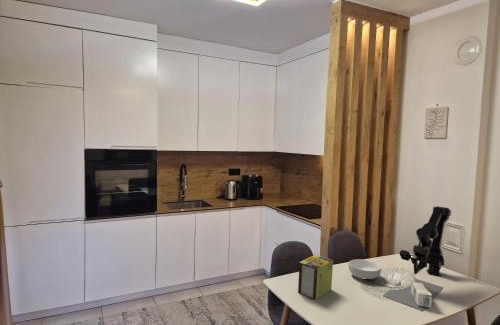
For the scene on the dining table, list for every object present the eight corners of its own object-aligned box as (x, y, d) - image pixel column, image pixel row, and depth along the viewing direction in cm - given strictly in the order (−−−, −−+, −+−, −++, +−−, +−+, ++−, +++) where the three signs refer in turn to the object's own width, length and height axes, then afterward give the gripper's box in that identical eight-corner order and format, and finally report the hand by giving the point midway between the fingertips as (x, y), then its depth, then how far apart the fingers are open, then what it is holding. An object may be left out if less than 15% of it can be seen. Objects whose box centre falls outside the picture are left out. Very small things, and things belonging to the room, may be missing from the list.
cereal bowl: (380, 274, 183) (381, 262, 183) (379, 286, 168) (380, 273, 168) (350, 268, 191) (350, 256, 190) (345, 279, 175) (346, 266, 175)
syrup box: (422, 294, 161) (432, 307, 147) (410, 292, 162) (418, 305, 148) (423, 283, 161) (432, 295, 147) (410, 281, 162) (418, 293, 148)
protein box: (331, 289, 163) (333, 259, 162) (315, 300, 152) (317, 268, 150) (313, 282, 170) (315, 253, 169) (297, 292, 159) (298, 261, 157)
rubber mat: (407, 276, 182) (407, 275, 182) (442, 287, 170) (443, 287, 170) (382, 296, 158) (382, 295, 158) (422, 311, 146) (422, 310, 146)
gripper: (402, 234, 171) (392, 260, 164) (441, 244, 158) (433, 272, 151) (406, 246, 177) (397, 270, 170) (444, 256, 165) (436, 283, 158)
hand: (414, 273), depth 162 cm, fingers closed
